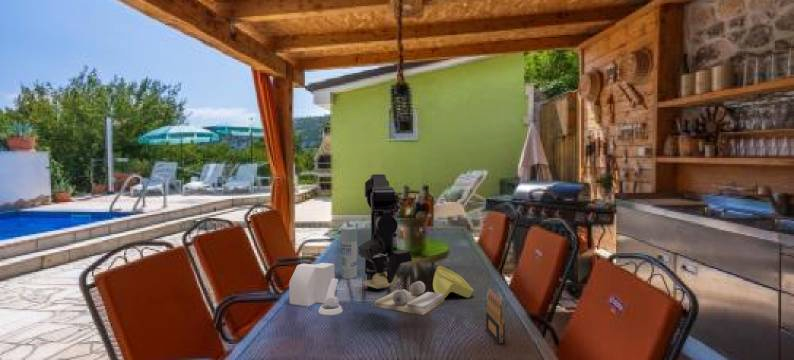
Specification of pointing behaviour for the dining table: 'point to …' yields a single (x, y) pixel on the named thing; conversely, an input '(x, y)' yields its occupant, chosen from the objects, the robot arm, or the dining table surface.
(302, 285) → the white rounded block
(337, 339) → the dining table surface
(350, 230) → the spray paint can
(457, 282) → the plastic component
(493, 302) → the ammunition clip
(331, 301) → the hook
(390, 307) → the hinge base
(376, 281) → the brass cylinder with flap
